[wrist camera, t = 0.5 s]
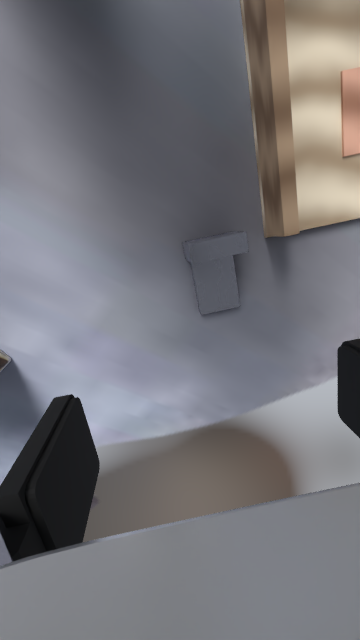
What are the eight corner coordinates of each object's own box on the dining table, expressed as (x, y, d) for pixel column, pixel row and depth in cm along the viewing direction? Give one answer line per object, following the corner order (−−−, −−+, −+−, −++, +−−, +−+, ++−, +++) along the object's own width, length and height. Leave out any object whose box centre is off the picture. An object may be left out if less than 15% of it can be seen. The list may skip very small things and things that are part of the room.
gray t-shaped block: (182, 242, 34) (188, 244, 29) (230, 231, 34) (246, 231, 29) (195, 312, 37) (203, 327, 31) (240, 302, 37) (256, 315, 31)
